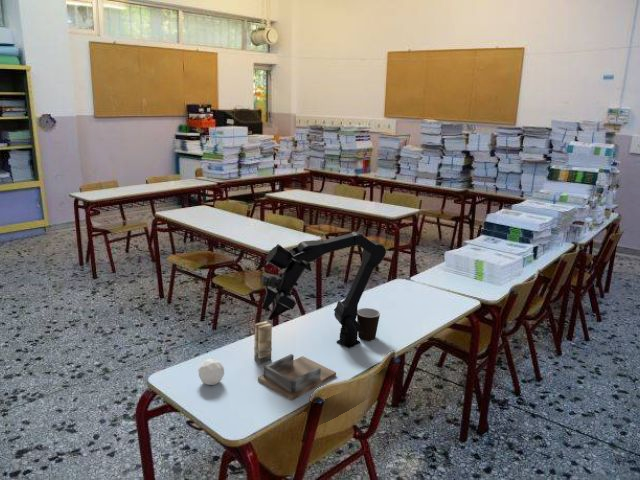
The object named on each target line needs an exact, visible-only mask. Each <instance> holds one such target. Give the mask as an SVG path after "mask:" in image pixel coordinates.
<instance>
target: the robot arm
mask: <svg viewBox="0 0 640 480" xmlns="http://www.w3.org/2000/svg"><path fill="white" fill-rule="evenodd" d="M354 246H358V247H359V248H362V253H361V264H360V266H359V268H358V270H357V271H356V274H355V278H354V280H353V281H352V284H351V286H350V288H349V290H348V293H347V295H346V297H345V298H344V299H343V300H342V301H341V300H338V301H337V303H336V307H335V308H334V309H333V312H334V318H335V319H336V320H337V321H338V323H339V324H340V325H341V327H340V332H339V339H337V340H336V343H337V344H338V345H341V346H343V347H346V348H348V349H352V348H354V347H355V346H357V345H359V344H361V341H360V340H358V332H359V331H360V329H361V325H360V324H359V323H358V322H357V310H359V309H358V306H359V303H360V300H361V298H362V296H363V294H364V291H365V289H366V287H367V284H368V283H369V281H370V279H371V276H372V274H373V271H374V269H376V268H377V266H379V265H380V264H381V263H382V262H383V260H384V258H385V257H386V254H387V249H386V248H385V246H384V245H383V244H381V243H380V242H378V241H376V240H373V239H371V240H370V239H368V238H367V237H365V236H364V235H363V234H362V233H361V232H358V231H352V232H350V233H347V234H343V235H339V236H335V237H331V238H327V239H323V240H305V241H304V240H303V241H300V242H299V243H298V244H297V245H296V246H293V247H292V248H289V249H286V248H284V247H283V246H282V245H280V244H279V243H278V244H276V246H274V247H273V248H271V249H270V250H269V251H268V254H267V255H266V262H267V263H268V264H270V265H273V266H274V267H275V268H277V269H279V270H283V269H284V270H283V272H282V271H280V272H279V273H278V274H272V273H265V272H263V273H262V275H261V278H260V283H261V284H262V286H263V287H264V288H265V296H264V299H263V303H262V306H261V308H262V309H263V310H266V309H267V308H268V307H270V305H271V304H273V303H274V306H273V307H272V310H271V311H270V313H269V316H268V319H269V320H270V321H272V320H274V319H275V318H277V317H279V316H280V315H281V314H283V313H285V312H287V311H291V310H293V309H294V308H295V307H296V306H297V304H296V300H295V299H294V298H293V297H292V290H293V288H294V287H298V285H299V283H298V281H299V280H300V278H301V277H302V275H303V273H304V272H305V270H307V271H309V272H312V267H311V266H312V265H311V263H312V262H314V261H316V260H318V259H320V258H322V257H323V256H324V255H325V254H329V253H331V252H332V253H333V252H336V251H340V250H343V249H347V248H352V247H354Z"/></svg>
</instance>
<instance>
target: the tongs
mask: <svg viewBox="0 0 640 480" xmlns="http://www.w3.org/2000/svg"><path fill="white" fill-rule="evenodd" d="M272 330H273V325H272V323H269V321H267V320H264V321H261V322H257V323H254V347H253V351H254V360H255V361H256V362H257V363H258V364H264V363H267V362H270V361H272V351H273V347H272V343H273V342H272V339H273V337H272V336H273V331H272Z"/></svg>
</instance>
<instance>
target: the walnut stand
mask: <svg viewBox="0 0 640 480" xmlns="http://www.w3.org/2000/svg"><path fill="white" fill-rule="evenodd" d="M294 356H295V355H294V354H292V353H290V354H289V355H287V356H284V357H282V358H280V359H278V360H275V361H273V362H271V363H269V364H267V365H265V366H263V374H262V375H260V376H258V377H257V381H258V382H260V383H261V384H263V385H265V386H266V387H268V388H270V389H272V390H273V391H275V392H277V393H279V394H281V395H282V396H284V397H286V398H287V399H289V400H291V401H293V400H296V399H297V398H299V397H300V396H301V395H303V394H305V393H307V392H309V391H310V390H313V389H314V388H316V387H318V386H320V385H322V384H323V383H325V382H327V381H329V380H332V379H333V378H334V377H336V376H337V372H336V371H335V370H332V369H331V368H328V367H326V366H324V365H322V364H320V363H318V362H316V361H314V360H311V359H309V358H307V357H306V356H304V355H303V356H299V357H298V358H295V359H294Z"/></svg>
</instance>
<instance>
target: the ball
mask: <svg viewBox="0 0 640 480" xmlns="http://www.w3.org/2000/svg"><path fill="white" fill-rule="evenodd" d="M224 368H225V367H224V366H223V364H222V363H221V361H220V360H217V359H215V358H208V359H206V360H205V361H202V362H201V364H200V366H199V368H198V370H197V371H198V377H199V379H200V381H201V383H203V384H205V385H207V386H215V385H217V384H218V383H220V382H221V381H222V379H223V378H224V375H225V369H224Z"/></svg>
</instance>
